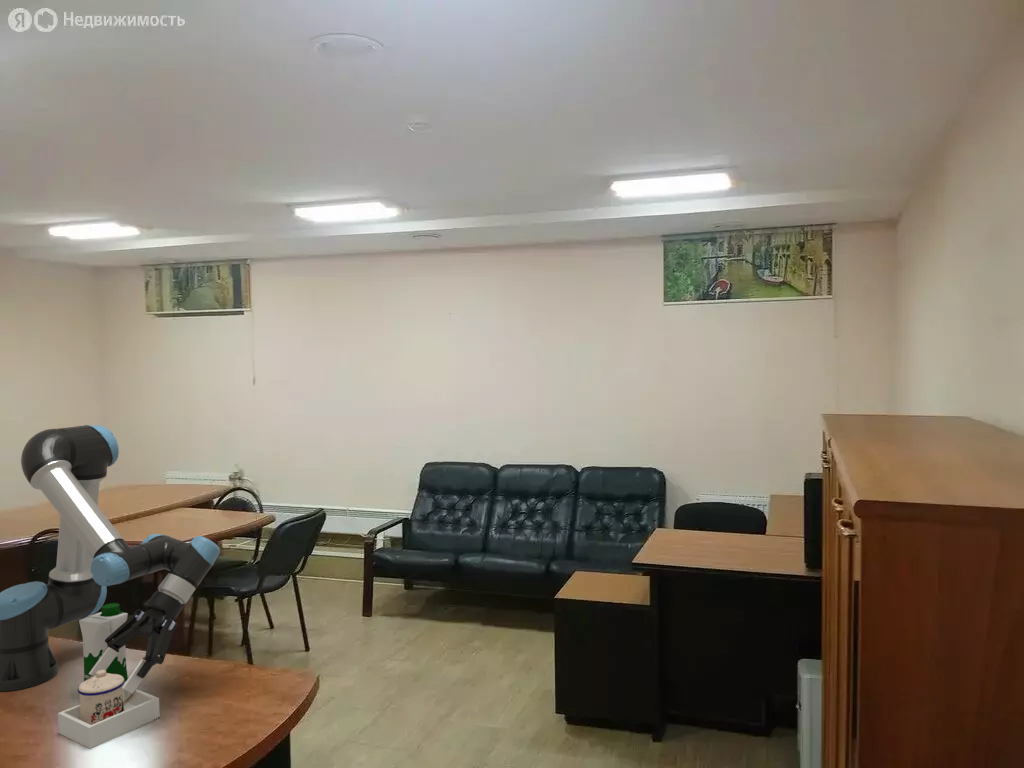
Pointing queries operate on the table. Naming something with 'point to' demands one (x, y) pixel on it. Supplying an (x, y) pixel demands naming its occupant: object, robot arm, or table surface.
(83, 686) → the teacup with lid
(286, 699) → the table surface
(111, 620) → the milk carton
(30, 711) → the table surface
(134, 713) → the white rectangular tray
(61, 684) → the table surface
